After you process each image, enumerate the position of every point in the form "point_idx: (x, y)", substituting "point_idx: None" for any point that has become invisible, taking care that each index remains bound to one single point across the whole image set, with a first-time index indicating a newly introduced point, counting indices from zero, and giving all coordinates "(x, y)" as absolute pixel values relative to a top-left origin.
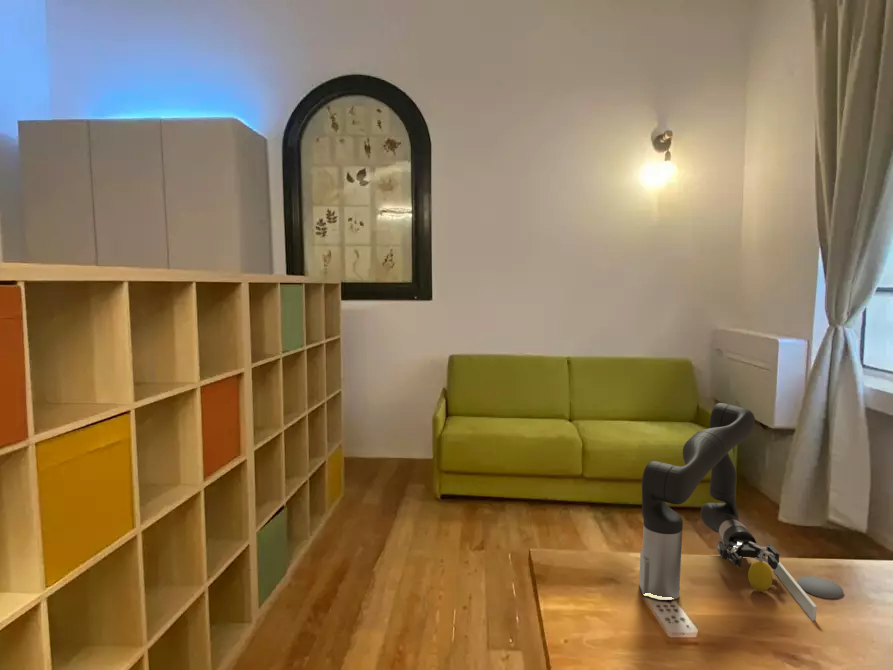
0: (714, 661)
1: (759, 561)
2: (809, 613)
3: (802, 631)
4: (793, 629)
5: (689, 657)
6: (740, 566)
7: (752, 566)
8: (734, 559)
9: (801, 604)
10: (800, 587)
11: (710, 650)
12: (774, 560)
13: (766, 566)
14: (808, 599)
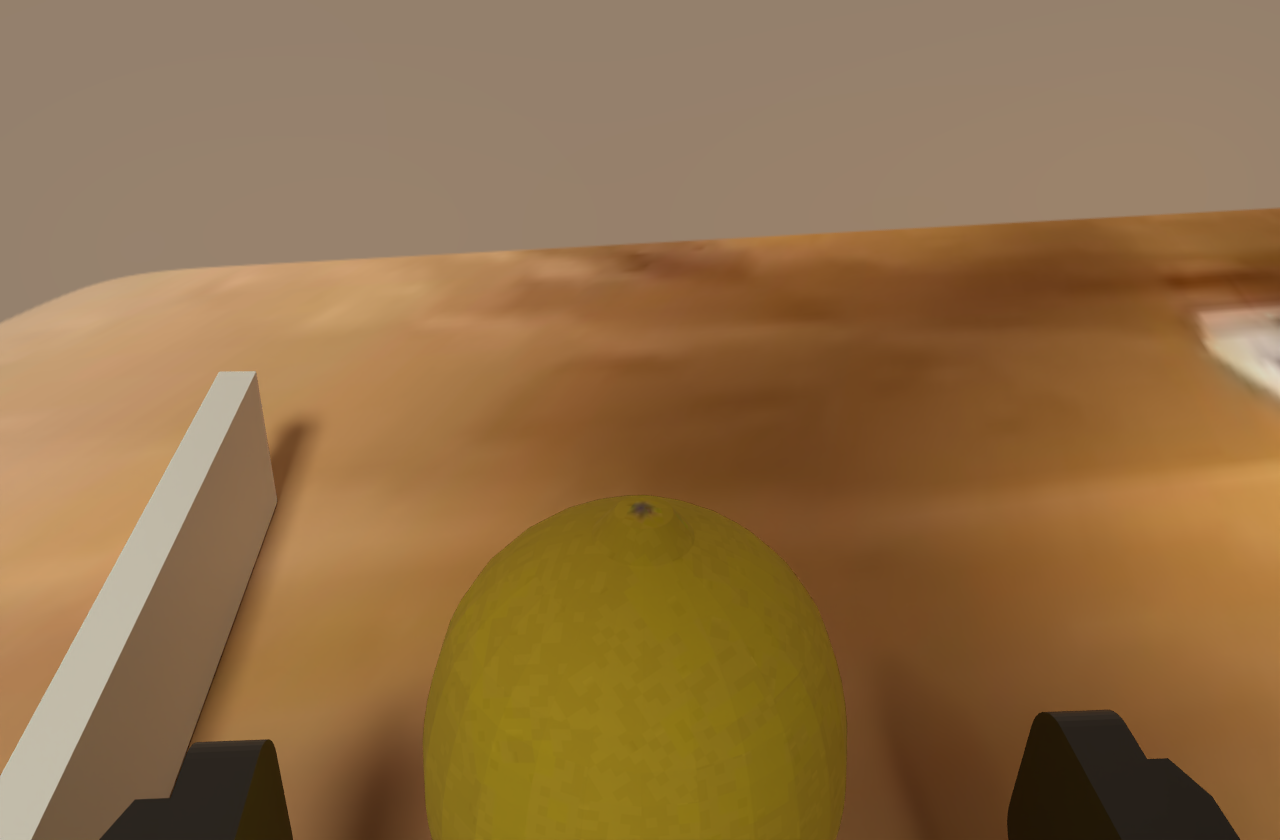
0: (1051, 223)
1: (671, 522)
2: (258, 507)
3: (460, 401)
4: (521, 410)
5: (1173, 229)
6: (1012, 819)
7: (801, 592)
8: (1194, 793)
9: (208, 653)
10: (85, 634)
11: (1085, 259)
12: (204, 776)
13: (555, 516)
14: (210, 442)
